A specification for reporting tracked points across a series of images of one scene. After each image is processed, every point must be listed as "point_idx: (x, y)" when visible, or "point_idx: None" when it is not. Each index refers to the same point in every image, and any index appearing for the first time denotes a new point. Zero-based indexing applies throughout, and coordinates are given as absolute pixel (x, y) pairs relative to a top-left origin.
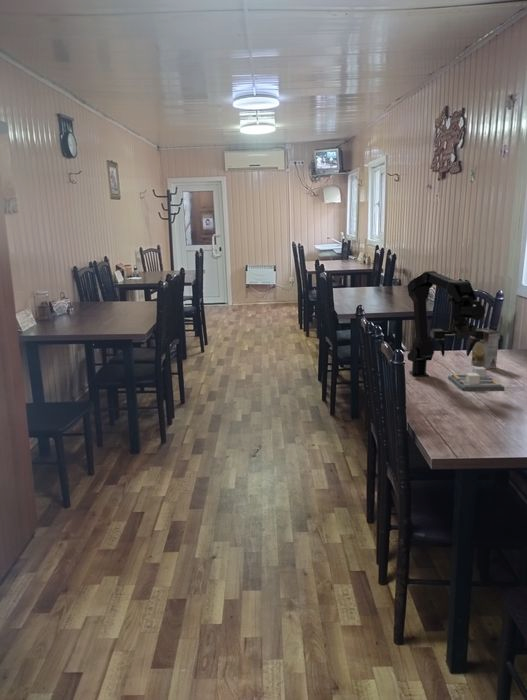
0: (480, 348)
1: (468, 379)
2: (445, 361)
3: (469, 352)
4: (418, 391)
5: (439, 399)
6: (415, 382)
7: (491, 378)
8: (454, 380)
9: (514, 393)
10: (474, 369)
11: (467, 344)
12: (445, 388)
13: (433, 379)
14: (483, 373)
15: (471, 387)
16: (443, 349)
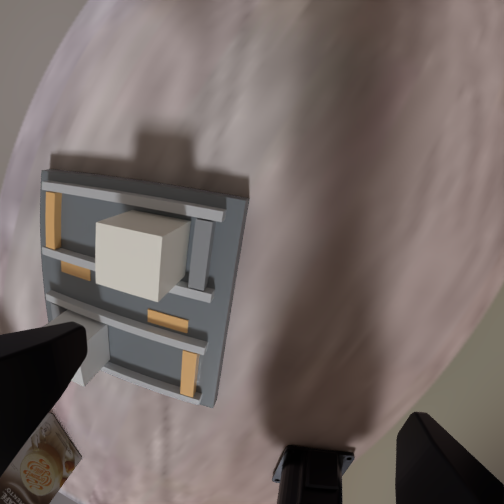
0: (34, 473)
1: (174, 241)
2: (146, 501)
3: (34, 333)
4: (488, 253)
5: (459, 90)
6: (406, 390)
7: (48, 292)
8: (219, 341)
9: (43, 114)
10: (84, 363)
11: (2, 459)
12: (326, 265)
13: (293, 410)
14: (60, 323)
15: (188, 190)
16: (475, 476)
